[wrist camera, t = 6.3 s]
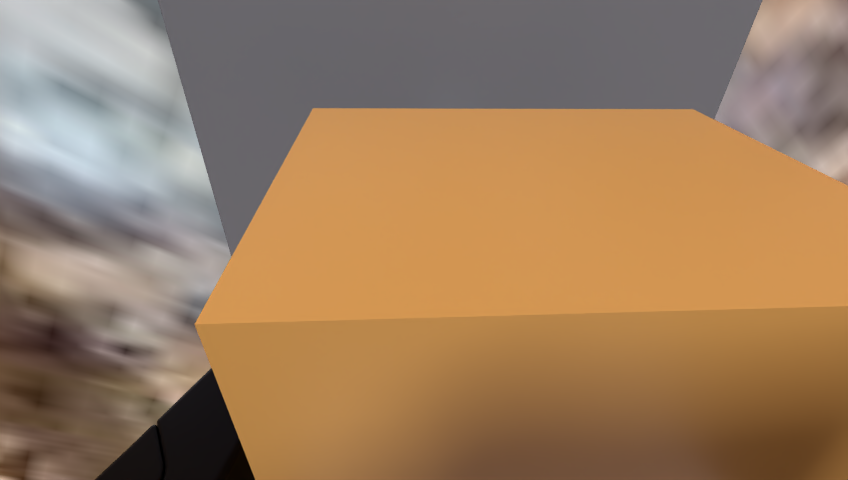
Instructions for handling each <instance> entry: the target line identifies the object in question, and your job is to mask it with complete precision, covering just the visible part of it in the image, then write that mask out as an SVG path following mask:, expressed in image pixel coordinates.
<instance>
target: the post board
mask: <svg viewBox="0 0 848 480" xmlns="http://www.w3.org/2000/svg"><path fill="white" fill-rule="evenodd" d="M158 2H159V6H160V9H161V13H162V16H163V20H164V23H165V27H166V30H167V34H168V37H169V40H170V44H171V47H172V51H173V54H174V58H175V61H176V65H177V68H178V72H179V75H180V79H181V82H182V86H183V89H184V93H185V96H186V100H187V103H188V107H189V110H190V114H191V117H192V121H193V124H194V128H195V131H196V134H197V138H198V141H199V145H200V148H201V152H202V155H203V159H204V162H205V166H206V169H207V173H208V176H209V180H210V183H211V187H212V190H213V194H214V197H215V201H216V204H217V208H218V211H219V215H220V218H221V222H222V225H223V229H224V232H225V235H226V239H227V242H228V246H229V249H230V253H231V256H232V255H233V253H234V252H235V250H236V248H237V246H238V244H239V242H240V241H241V239H242V237H243V235H244V233H245V231H246V230H247V228H248V226H249V224H250V222H251V221H252V219H253V217H254V215H255V213H256V211H257V210H258V208H259V206H260V204H261V202H262V200H263V199H264V197H265V195H266V193H267V191H268V189H269V188H270V186H271V184H272V182H273V180H274V179H275V177H276V175H277V173H278V171H279V169H280V168H281V166H282V164H283V162H284V160H285V158H286V157H287V155H288V153H289V151H290V149H291V147H292V146H293V144H294V142H295V140H296V138H297V137H298V135H299V133H300V131H301V129H302V127H303V126H304V124H305V122H306V120H307V118H308V116H309V115H310V113H311V111H312V109H313V108H418V109H694V110H696V111H698V112H700V113H702V114H704V115H706V116H708V117H710V118H712V119H714V118H715V116H716V113H717V111H718V108H719V106H720V104H721V101H722V99H723V96H724V94H725V91H726V89H727V86H728V84H729V81H730V79H731V76H732V74H733V71H734V69H735V67H736V64H737V62H738V59H739V57H740V54H741V52H742V49H743V47H744V44H745V42H746V39H747V37H748V34H749V32H750V29H751V27H752V25H753V22H754V20H755V17H756V15H757V12H758V10H759V7H760V5H761V2H762V0H158Z"/></svg>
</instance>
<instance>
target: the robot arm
mask: <svg viewBox="0 0 848 480" xmlns="http://www.w3.org/2000/svg"><path fill="white" fill-rule="evenodd" d="M95 480H255V478H254V475H253V473H252V470H251V468H250V465H249V462H248V460H247V457H246V455H245V452H244V450H243V447H242V445H241V442H240V439H239V437H238V434H237V432H236V429H235V427H234V424H233V421H232V419H231V416H230V414H229V411H228V409H227V406H226V403H225V401H224V398H223V396H222V393H221V391H220V388H219V386H218V383H217V380H216V378H215V375H214V373H213V370H212V368H211V369H210V370H209V371H208V372H207V373H206V374H205V375H204V376H203V377H202V378H201V379H200V380H199V381H198V382H197V383H196V384H194V385H193V386H192V387H191V388H190V389H189V390H188V391H187V392H186V393H185V394H184V395H183V396H182V397H181V398H180V399H179V400H178V401H177V402H176V403H175V404H174V405H173V406H172V407H171V408H170V409H169V410H168V411H167V412H166V413H165V414H164V415H163V416H162V417H161V418H160V419H158V421H157V425H153V426H151V427H150V428H149V429H148V430H147V431H146V432H145V433H144V434H143V435H142V436H141V437H140V438H139V439H138V440H137V441H136V442H135V443H134V444H132V445H131V446H130V447H129V448H128V449H127V450H126V451H125V452H124V453H123V454H122V455H121V456H120V457H119V458H118V459H117V460H115V461H114V462H113V463H112V464H111V465H110V466H109V467H108V468H107V469H106V470H105V471H104V472H103V473H102V474H100V475H99V476H98V477H97V478H96V479H95Z"/></svg>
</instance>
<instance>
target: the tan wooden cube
mask: <svg viewBox="0 0 848 480" xmlns="http://www.w3.org/2000/svg"><path fill="white" fill-rule="evenodd" d="M195 327H196V329H197V332H198V334H199V337H200V339H201V342H202V344H203V347H204V350H205V352H206V355H207V357H208V360H209V362H210V365H211V368H212V370H213V373H214V375H215V378H216V380H217V383H218V386H219V388H220V391H221V393H222V396H223V398H224V401H225V403H226V406H227V409H228V411H229V414H230V416H231V419H232V421H233V424H234V427H235V429H236V432H237V434H238V437H239V439H240V442H241V445H242V447H243V450H244V452H245V455H246V457H247V460H248V462H249V465H250V468H251V470H252V473H253V475H254V478H255V480H848V186H847V185H845V184H843V183H841V182H839V181H837V180H835V179H833V178H831V177H829V176H827V175H825V174H823V173H821V172H819V171H817V170H815V169H813V168H811V167H809V166H807V165H805V164H803V163H801V162H799V161H797V160H795V159H793V158H791V157H789V156H787V155H785V154H783V153H780V152H778V151H776V150H774V149H772V148H770V147H768V146H766V145H764V144H762V143H760V142H758V141H756V140H754V139H752V138H750V137H748V136H746V135H744V134H742V133H740V132H738V131H736V130H734V129H732V128H730V127H728V126H726V125H724V124H722V123H720V122H718V121H716V120H714V119H712V118H710V117H708V116H706V115H704V114H702V113H700V112H698V111H696V110H694V109H418V108H313V109H312V111H311V113H310V115H309V116H308V118H307V120H306V122H305V124H304V126H303V127H302V129H301V131H300V133H299V135H298V137H297V138H296V140H295V142H294V144H293V146H292V147H291V149H290V151H289V153H288V155H287V157H286V158H285V160H284V162H283V164H282V166H281V168H280V169H279V171H278V173H277V175H276V177H275V179H274V180H273V182H272V184H271V186H270V188H269V189H268V191H267V193H266V195H265V197H264V199H263V200H262V202H261V204H260V206H259V208H258V210H257V211H256V213H255V215H254V217H253V219H252V221H251V222H250V224H249V226H248V228H247V230H246V231H245V233H244V235H243V237H242V239H241V241H240V242H239V244H238V246H237V248H236V250H235V252H234V253H233V255H232V257H231V259H230V261H229V263H228V264H227V266H226V268H225V270H224V272H223V273H222V275H221V277H220V279H219V281H218V283H217V284H216V286H215V288H214V290H213V292H212V294H211V295H210V297H209V299H208V301H207V303H206V305H205V306H204V308H203V310H202V312H201V314H200V315H199V317H198V319H197V321H196V323H195Z"/></svg>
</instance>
